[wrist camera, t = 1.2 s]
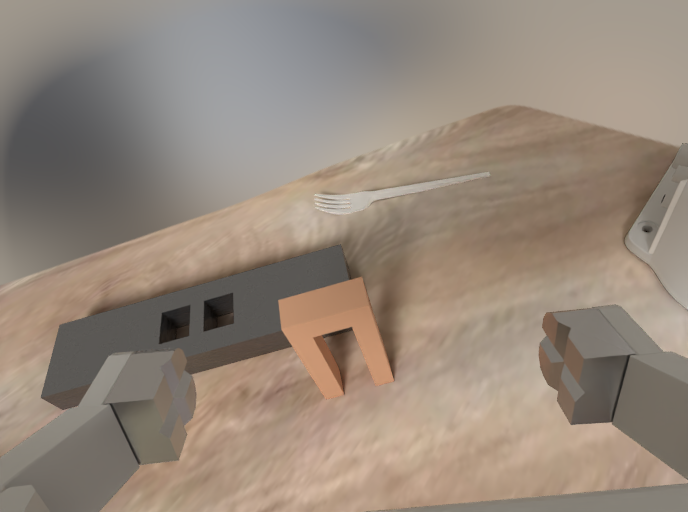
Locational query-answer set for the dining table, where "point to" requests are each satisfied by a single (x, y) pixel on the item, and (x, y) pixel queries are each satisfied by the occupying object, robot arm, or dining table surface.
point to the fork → (385, 194)
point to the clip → (329, 316)
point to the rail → (191, 323)
